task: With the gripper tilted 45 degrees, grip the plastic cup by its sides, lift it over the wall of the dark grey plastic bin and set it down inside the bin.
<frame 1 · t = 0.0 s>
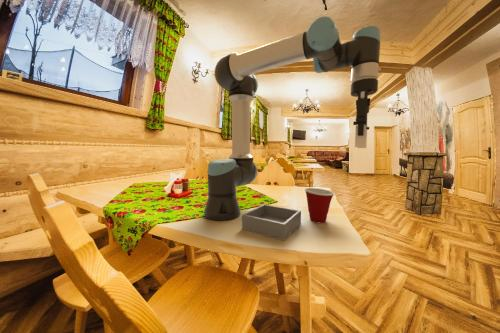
hand: (361, 147, 62), 28 cm above the table, tool pointing down, fingers open, 13 cm apart
plastic cup: (318, 220, 73), on the table
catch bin: (272, 226, 67), on the table
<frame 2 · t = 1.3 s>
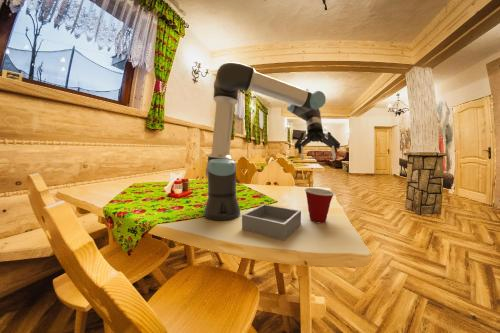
hand: (318, 158, 83), 24 cm above the table, tool tilted 45°, fingers open, 13 cm apart
nothing on the table moved.
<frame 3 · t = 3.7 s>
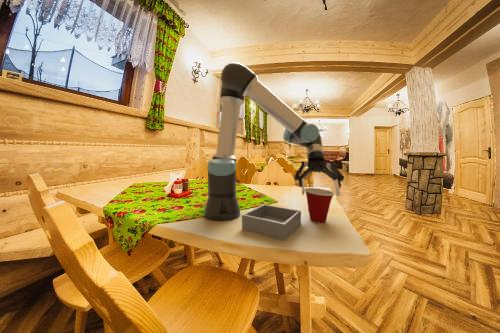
hand: (320, 193, 76), 10 cm above the table, tool tilted 45°, fingers open, 13 cm apart
nothing on the table moved.
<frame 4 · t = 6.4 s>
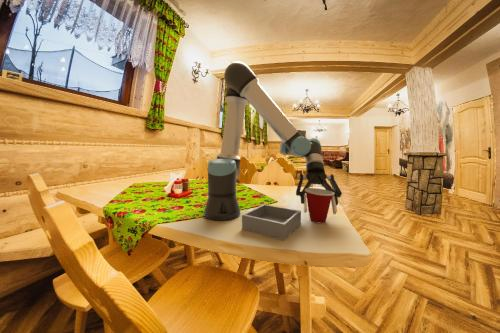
hand: (320, 211, 69), 4 cm above the table, tool tilted 45°, fingers closed on plastic cup, 10 cm apart
plastic cup: (318, 220, 73), on the table, touching gripper
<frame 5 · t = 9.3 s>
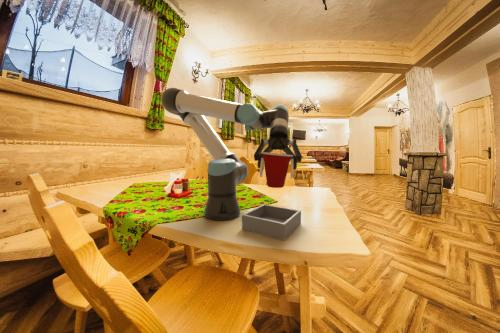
hand: (276, 175, 63), 19 cm above the table, tool tilted 45°, fingers closed on plastic cup, 10 cm apart
plastic cup: (276, 186, 66), point 14 cm above the table, touching gripper
when the fingers open (7 cm above the table, at t = 12.7 s): plastic cup moves 4 cm, resting on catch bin.
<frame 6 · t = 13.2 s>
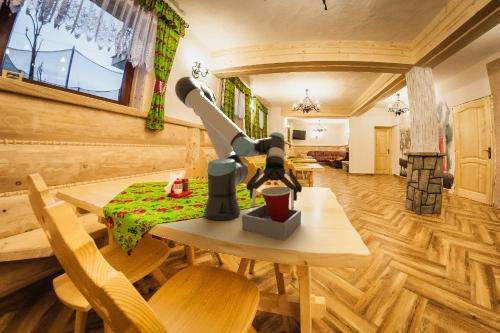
hand: (272, 207, 64), 8 cm above the table, tool tilted 45°, fingers open, 13 cm apart
plastic cup: (281, 221, 68), point 1 cm above the table, touching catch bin, gripper
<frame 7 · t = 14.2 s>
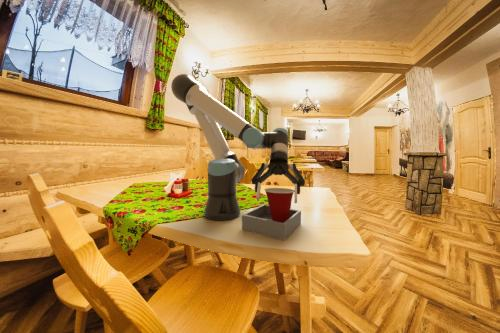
hand: (276, 200, 67), 9 cm above the table, tool tilted 45°, fingers open, 13 cm apart
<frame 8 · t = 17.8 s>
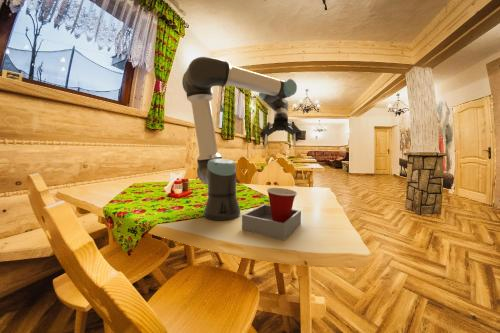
hand: (279, 145, 88), 30 cm above the table, tool tilted 45°, fingers open, 13 cm apart
plastic cup: (281, 222, 68), point 1 cm above the table, touching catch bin
at the end: plastic cup inside the target area on the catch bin (3.6 cm from its centre), point 0.8 cm above the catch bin's base; plastic cup tilted 0°; the gripper is holding nothing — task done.
